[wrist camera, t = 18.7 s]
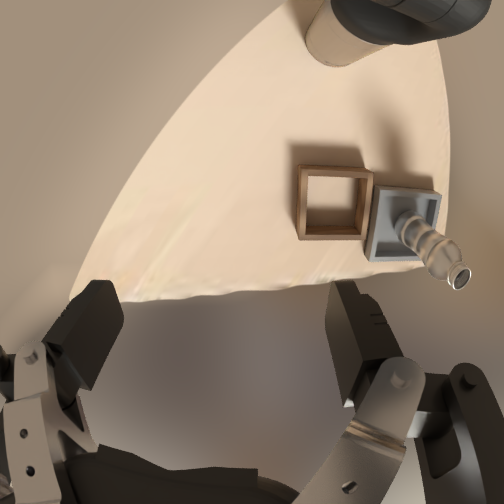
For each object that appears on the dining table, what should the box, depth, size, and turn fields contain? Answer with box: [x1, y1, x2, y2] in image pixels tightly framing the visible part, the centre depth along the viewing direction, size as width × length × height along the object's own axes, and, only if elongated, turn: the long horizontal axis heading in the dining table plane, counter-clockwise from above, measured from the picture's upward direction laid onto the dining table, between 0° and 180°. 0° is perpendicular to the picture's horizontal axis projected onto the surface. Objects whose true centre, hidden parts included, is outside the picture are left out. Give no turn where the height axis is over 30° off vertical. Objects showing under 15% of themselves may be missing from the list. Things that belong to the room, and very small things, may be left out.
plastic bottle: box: [395, 211, 471, 290], centre depth 38 cm, size 6×7×20 cm
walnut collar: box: [296, 165, 374, 240], centre depth 45 cm, size 12×12×4 cm
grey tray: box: [364, 185, 442, 262], centre depth 47 cm, size 14×14×3 cm
